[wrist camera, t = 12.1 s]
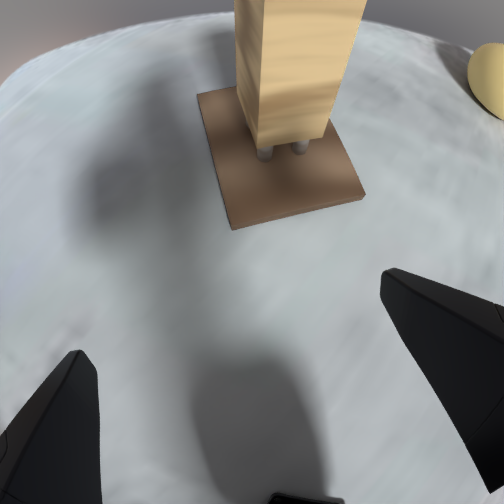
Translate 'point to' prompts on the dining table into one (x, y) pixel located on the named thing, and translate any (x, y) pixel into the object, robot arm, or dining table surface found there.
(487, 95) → the sculpture
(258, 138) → the oak block
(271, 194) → the peg base
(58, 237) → the dining table surface
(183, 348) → the dining table surface
